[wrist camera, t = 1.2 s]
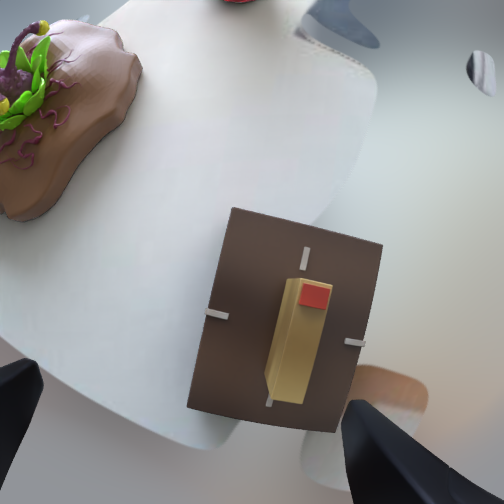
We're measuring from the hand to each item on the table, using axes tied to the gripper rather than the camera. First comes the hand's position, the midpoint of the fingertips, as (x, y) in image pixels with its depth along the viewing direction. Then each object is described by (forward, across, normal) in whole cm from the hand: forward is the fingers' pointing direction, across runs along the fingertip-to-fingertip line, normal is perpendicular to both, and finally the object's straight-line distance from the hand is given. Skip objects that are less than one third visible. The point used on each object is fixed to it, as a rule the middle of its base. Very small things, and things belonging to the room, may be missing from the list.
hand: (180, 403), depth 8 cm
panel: (+14, -4, +5) cm, 15 cm away
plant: (+20, +19, -11) cm, 30 cm away
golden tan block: (+11, -4, +3) cm, 12 cm away
